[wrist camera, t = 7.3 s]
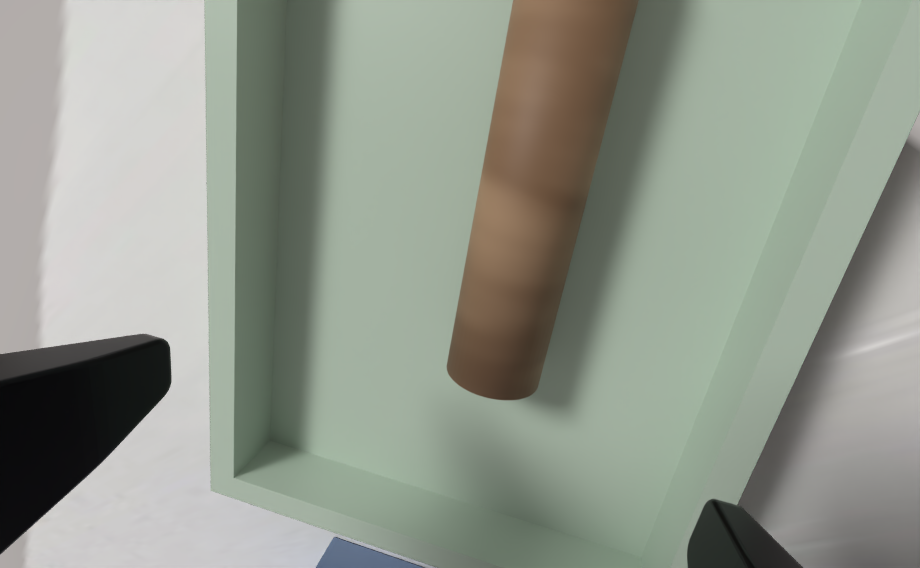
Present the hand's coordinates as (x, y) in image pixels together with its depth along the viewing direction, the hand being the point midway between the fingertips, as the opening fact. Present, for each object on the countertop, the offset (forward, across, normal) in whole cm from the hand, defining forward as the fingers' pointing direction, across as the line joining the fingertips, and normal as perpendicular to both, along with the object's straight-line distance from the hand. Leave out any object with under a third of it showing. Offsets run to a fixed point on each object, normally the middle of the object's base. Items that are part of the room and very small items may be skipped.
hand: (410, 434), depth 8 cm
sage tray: (+7, 0, -4) cm, 7 cm away
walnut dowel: (+5, -1, -4) cm, 6 cm away
